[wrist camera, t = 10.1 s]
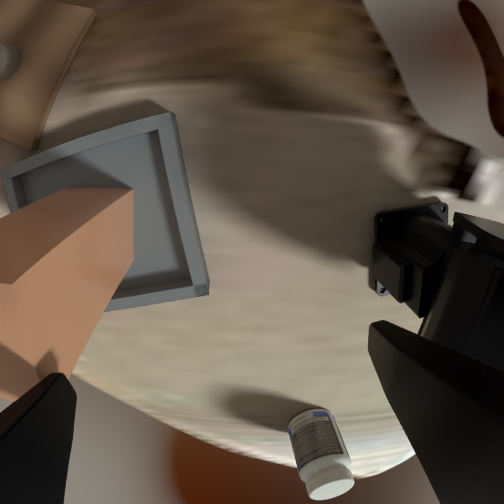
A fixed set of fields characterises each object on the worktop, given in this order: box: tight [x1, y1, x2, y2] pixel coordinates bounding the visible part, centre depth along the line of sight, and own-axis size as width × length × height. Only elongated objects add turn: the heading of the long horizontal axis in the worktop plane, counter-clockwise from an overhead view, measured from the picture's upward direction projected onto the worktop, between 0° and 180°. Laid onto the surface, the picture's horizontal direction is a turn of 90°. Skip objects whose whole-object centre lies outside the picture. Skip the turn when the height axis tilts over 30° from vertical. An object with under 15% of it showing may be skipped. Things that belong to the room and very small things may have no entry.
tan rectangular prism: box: [0, 187, 134, 401], centre depth 12 cm, size 6×5×13 cm
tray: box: [1, 112, 210, 312], centre depth 18 cm, size 12×11×2 cm
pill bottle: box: [288, 409, 354, 500], centre depth 24 cm, size 5×5×8 cm
